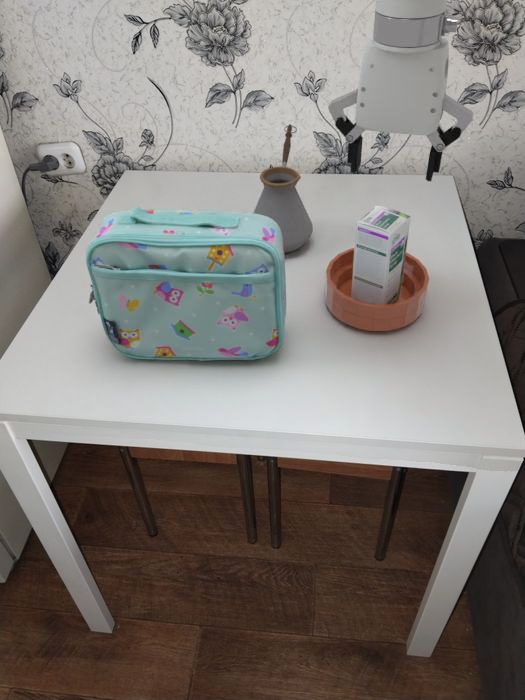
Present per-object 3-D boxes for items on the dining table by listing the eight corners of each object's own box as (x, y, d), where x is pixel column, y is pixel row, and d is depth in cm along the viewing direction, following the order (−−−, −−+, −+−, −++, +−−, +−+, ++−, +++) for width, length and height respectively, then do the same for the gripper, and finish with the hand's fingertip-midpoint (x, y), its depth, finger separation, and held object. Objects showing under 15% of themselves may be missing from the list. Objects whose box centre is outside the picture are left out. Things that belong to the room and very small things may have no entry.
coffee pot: (309, 262, 101) (311, 182, 90) (243, 258, 103) (237, 179, 92) (320, 198, 116) (322, 123, 106) (262, 195, 118) (259, 121, 107)
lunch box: (99, 365, 85) (58, 240, 70) (116, 318, 92) (82, 195, 77) (285, 368, 83) (283, 240, 68) (287, 320, 90) (286, 195, 76)
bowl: (428, 282, 96) (434, 254, 92) (415, 343, 86) (421, 315, 82) (337, 266, 100) (339, 239, 96) (314, 324, 90) (315, 296, 86)
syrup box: (382, 315, 89) (394, 234, 79) (348, 301, 92) (355, 220, 82) (400, 296, 92) (413, 215, 82) (367, 282, 95) (375, 203, 85)
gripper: (491, 21, 66) (463, 166, 77) (339, 16, 70) (334, 153, 82) (487, 42, 60) (457, 194, 72) (323, 34, 65) (320, 178, 77)
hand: (392, 172), depth 77 cm, fingers open, 9 cm apart
